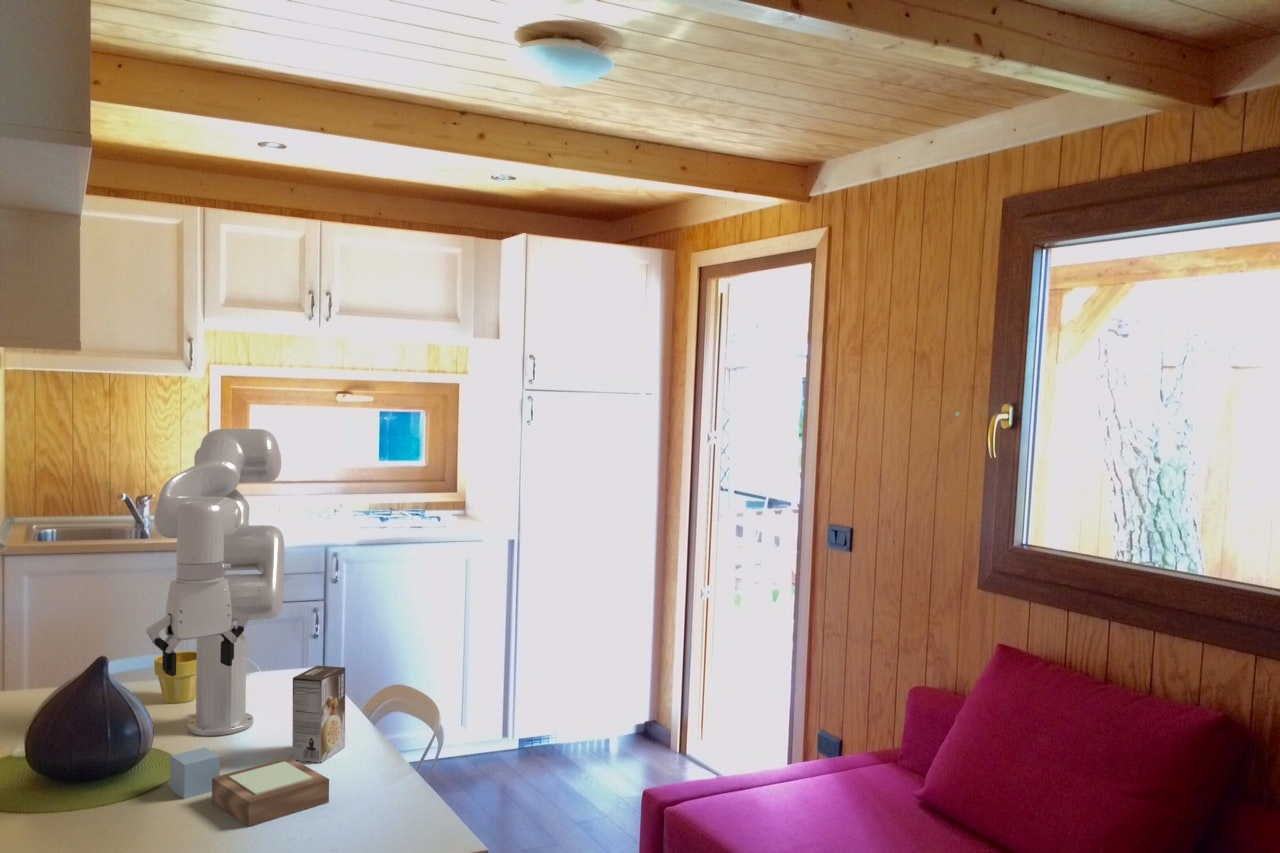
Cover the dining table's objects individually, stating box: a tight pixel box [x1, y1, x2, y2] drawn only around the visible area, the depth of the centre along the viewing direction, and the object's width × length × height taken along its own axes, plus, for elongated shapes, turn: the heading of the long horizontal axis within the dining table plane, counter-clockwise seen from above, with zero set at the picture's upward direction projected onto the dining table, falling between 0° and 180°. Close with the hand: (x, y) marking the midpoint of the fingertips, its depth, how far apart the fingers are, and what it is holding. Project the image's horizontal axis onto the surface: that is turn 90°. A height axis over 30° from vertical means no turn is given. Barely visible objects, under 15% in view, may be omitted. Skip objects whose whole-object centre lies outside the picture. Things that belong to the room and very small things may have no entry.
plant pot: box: [153, 650, 197, 705], centre depth 221 cm, size 10×10×10 cm
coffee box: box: [291, 665, 346, 763], centre depth 189 cm, size 9×6×16 cm
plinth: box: [211, 756, 330, 828], centre depth 167 cm, size 14×14×4 cm
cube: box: [169, 747, 221, 800], centre depth 171 cm, size 6×6×6 cm
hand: (198, 669), depth 171 cm, fingers open, 9 cm apart
